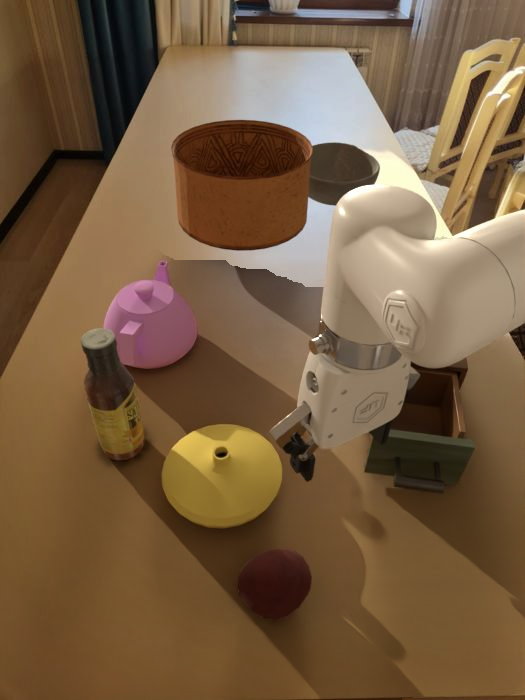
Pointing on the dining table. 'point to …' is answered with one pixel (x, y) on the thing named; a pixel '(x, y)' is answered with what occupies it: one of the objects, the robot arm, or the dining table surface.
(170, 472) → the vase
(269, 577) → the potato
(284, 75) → the dining table surface
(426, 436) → the drawer
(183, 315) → the teapot
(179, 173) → the pot
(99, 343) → the sauce bottle
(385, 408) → the robot arm
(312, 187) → the bowl
